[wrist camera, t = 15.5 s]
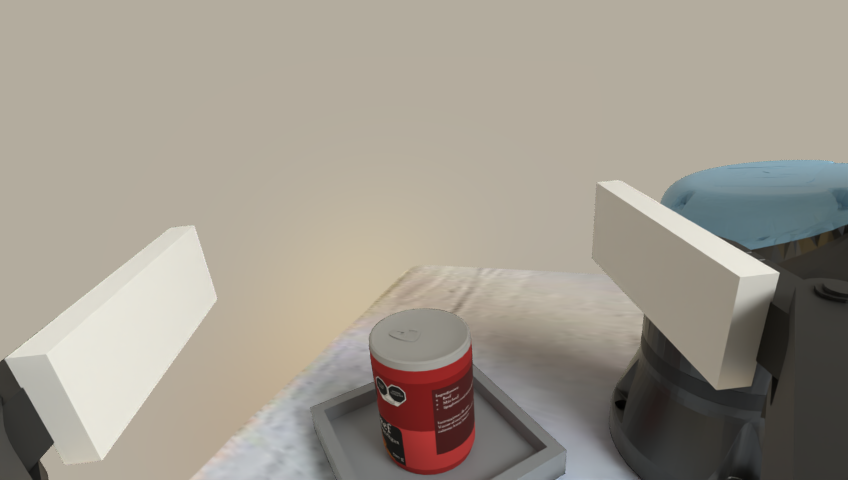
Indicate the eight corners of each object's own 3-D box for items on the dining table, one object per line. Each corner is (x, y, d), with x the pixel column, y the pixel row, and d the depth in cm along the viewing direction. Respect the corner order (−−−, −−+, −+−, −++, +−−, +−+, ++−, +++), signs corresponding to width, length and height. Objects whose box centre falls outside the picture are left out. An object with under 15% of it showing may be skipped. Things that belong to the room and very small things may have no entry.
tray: (457, 367, 49) (456, 348, 48) (564, 473, 36) (566, 449, 35) (314, 428, 42) (310, 407, 41) (382, 586, 29) (378, 561, 28)
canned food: (387, 410, 42) (373, 309, 38) (471, 406, 42) (467, 304, 38) (378, 481, 35) (360, 367, 31) (480, 476, 35) (475, 360, 31)
